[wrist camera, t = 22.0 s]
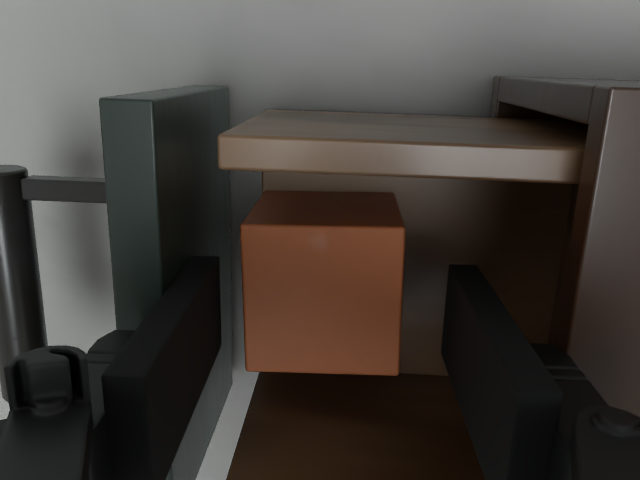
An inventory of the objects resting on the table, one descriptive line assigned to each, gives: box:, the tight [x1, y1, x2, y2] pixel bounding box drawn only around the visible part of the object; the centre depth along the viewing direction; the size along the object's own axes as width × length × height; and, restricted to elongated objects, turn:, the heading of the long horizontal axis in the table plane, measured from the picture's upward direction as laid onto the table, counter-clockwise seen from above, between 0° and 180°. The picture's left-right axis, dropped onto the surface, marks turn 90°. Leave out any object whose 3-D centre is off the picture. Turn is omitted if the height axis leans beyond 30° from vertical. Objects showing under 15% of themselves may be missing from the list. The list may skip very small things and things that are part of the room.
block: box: [240, 191, 406, 376], centre depth 18 cm, size 4×4×4 cm
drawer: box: [0, 85, 589, 480], centre depth 18 cm, size 18×11×8 cm, turn 88°
